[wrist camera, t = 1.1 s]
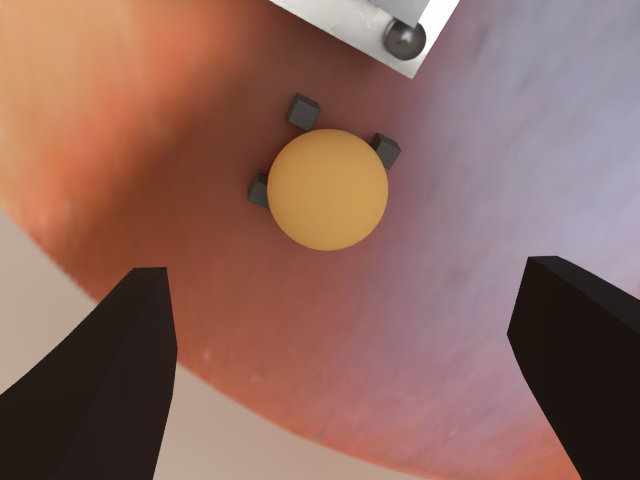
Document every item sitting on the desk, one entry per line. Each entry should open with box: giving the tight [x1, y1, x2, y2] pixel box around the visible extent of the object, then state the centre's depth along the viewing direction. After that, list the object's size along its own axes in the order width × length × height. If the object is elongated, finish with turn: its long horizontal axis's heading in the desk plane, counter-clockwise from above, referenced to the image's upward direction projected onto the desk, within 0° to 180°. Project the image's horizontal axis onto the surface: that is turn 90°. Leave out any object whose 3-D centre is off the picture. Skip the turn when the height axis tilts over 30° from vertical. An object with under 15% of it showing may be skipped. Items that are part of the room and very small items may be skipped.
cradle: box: [248, 93, 401, 208], centre depth 19 cm, size 4×4×1 cm
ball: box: [267, 129, 388, 251], centre depth 18 cm, size 4×4×4 cm
